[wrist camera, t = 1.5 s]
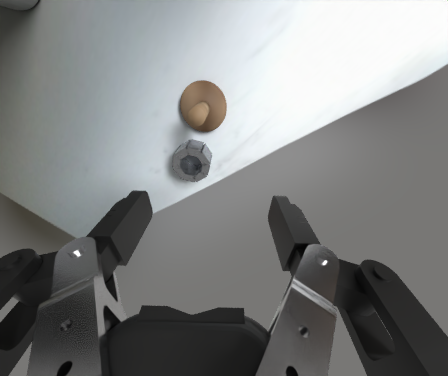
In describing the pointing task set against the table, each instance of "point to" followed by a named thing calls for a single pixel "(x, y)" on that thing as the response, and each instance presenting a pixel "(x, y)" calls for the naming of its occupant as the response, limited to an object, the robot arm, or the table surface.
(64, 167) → the table surface
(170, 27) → the table surface
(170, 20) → the table surface
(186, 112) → the wooden peg stand
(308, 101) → the table surface
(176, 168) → the ring
